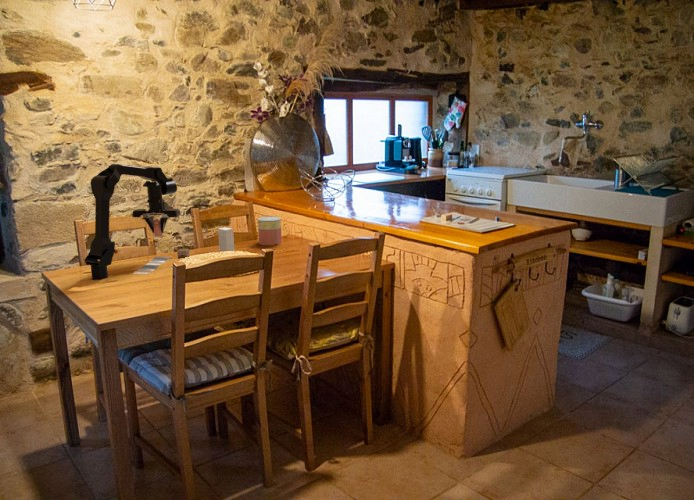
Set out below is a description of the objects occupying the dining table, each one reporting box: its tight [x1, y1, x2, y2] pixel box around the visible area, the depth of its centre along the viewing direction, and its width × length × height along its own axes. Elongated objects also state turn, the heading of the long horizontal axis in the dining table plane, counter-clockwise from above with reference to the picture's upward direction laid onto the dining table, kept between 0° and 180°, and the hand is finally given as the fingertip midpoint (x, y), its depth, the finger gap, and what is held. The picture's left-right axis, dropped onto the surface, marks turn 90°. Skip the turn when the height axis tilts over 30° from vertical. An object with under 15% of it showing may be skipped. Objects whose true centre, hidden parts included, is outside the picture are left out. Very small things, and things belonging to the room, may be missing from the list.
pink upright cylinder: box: [153, 218, 164, 238], centre depth 243 cm, size 3×3×7 cm
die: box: [177, 248, 190, 260], centre depth 252 cm, size 4×4×4 cm
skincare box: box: [217, 227, 235, 253], centre depth 257 cm, size 6×4×12 cm
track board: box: [132, 256, 173, 275], centre depth 238 cm, size 27×8×1 cm, turn 179°
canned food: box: [257, 216, 283, 246], centre depth 280 cm, size 11×11×12 cm
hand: (158, 232), depth 244 cm, fingers closed on pink upright cylinder, 3 cm apart
